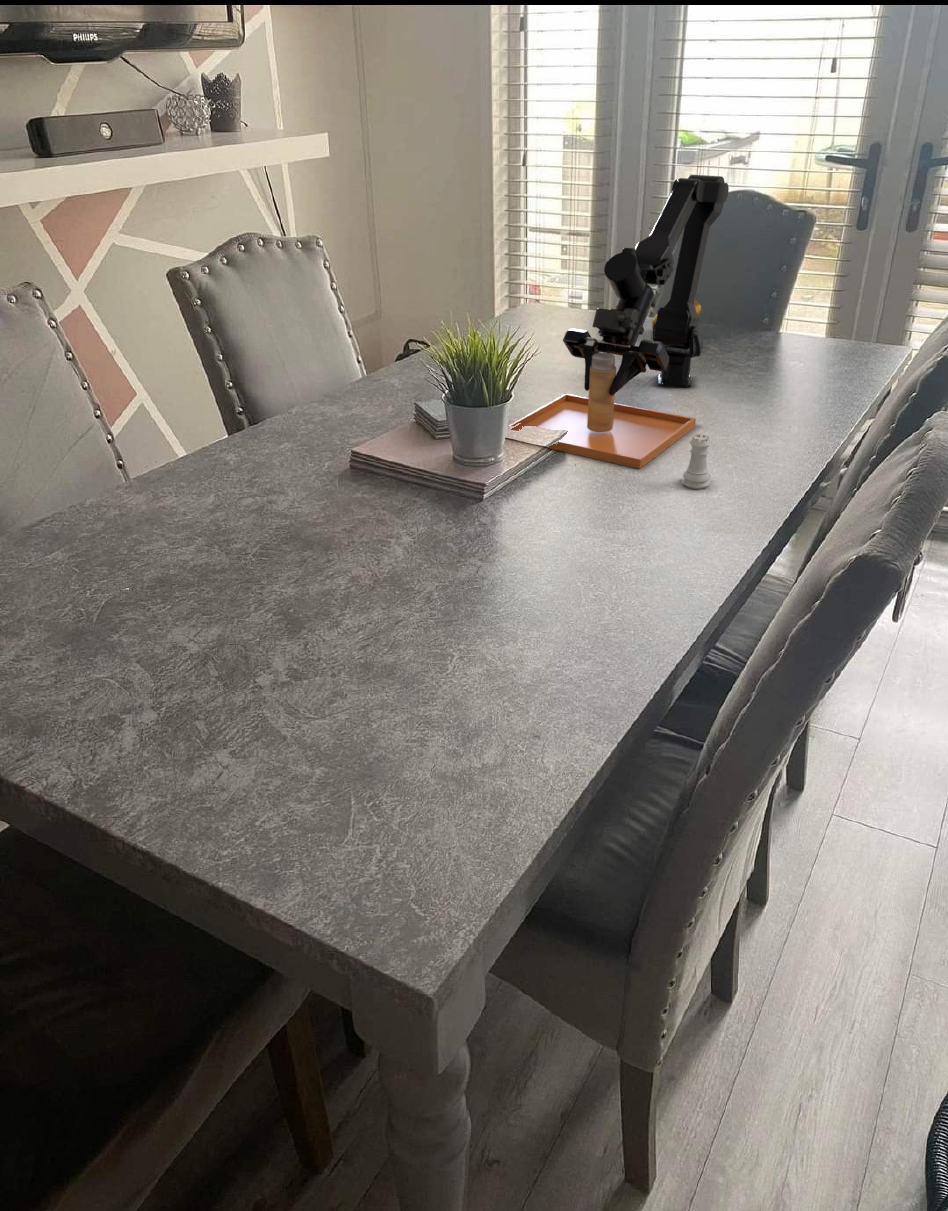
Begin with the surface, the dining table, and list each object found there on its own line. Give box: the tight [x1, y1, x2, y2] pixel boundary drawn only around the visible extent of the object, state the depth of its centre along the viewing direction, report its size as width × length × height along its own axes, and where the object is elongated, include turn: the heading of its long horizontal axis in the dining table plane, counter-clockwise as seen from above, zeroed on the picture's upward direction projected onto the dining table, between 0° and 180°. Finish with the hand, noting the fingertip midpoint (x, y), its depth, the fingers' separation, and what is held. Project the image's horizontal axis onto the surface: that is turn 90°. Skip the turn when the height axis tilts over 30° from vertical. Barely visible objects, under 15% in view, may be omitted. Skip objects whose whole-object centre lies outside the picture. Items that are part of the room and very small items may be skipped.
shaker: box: [587, 352, 617, 432], centre depth 170 cm, size 5×5×13 cm
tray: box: [509, 393, 697, 470], centre depth 174 cm, size 23×27×2 cm
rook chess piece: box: [681, 433, 712, 490], centre depth 151 cm, size 4×4×8 cm
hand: (598, 391), depth 169 cm, fingers closed on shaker, 4 cm apart
